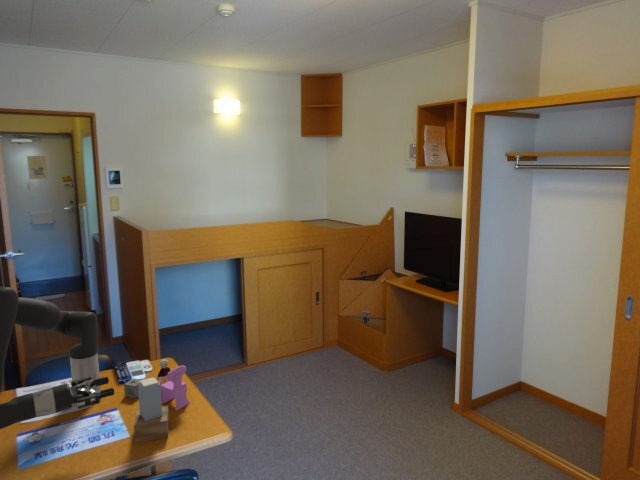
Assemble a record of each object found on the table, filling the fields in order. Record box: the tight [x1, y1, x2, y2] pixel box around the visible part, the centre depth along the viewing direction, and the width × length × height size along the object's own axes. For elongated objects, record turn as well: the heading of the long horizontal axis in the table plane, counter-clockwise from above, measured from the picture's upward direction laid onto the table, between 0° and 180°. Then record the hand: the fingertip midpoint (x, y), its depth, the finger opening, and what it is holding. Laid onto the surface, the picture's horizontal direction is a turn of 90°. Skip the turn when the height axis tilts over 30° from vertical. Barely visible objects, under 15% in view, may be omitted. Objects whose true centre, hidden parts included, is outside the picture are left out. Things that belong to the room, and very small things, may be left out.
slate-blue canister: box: [138, 376, 163, 421], centre depth 156 cm, size 6×6×12 cm
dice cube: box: [123, 378, 142, 399], centre depth 182 cm, size 5×5×5 cm
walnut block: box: [133, 405, 170, 443], centre depth 157 cm, size 10×10×6 cm
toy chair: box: [161, 365, 190, 411], centre depth 174 cm, size 8×9×15 cm
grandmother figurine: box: [156, 358, 172, 395], centre depth 184 cm, size 8×4×13 cm, turn 168°
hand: (111, 385), depth 150 cm, fingers open, 8 cm apart
